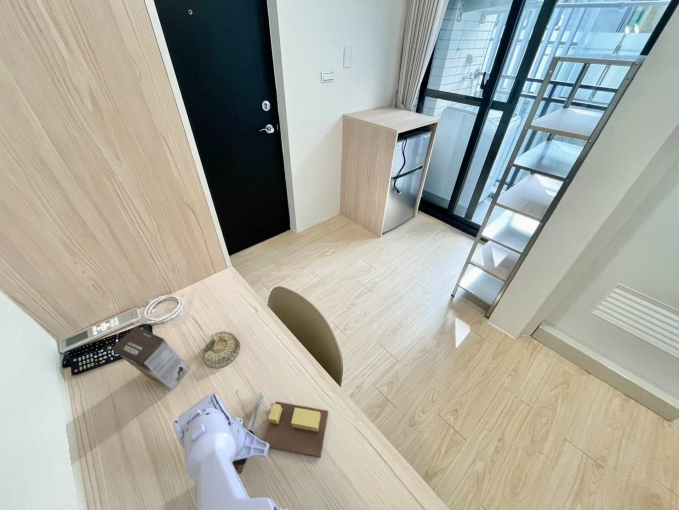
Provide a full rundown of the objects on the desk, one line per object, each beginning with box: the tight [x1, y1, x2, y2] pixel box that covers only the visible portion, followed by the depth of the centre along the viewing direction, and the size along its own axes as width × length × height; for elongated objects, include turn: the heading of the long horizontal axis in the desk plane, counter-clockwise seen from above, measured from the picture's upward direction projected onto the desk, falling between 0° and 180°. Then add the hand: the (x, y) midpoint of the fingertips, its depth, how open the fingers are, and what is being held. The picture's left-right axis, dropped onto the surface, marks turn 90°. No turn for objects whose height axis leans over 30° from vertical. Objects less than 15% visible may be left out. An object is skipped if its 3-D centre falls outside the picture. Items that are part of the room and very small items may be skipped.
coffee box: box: [111, 326, 191, 391], centre depth 66 cm, size 9×6×16 cm
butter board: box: [263, 401, 329, 458], centre depth 62 cm, size 9×13×1 cm
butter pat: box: [268, 403, 282, 424], centre depth 62 cm, size 3×2×3 cm, turn 171°
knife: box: [233, 392, 264, 475], centre depth 60 cm, size 15×2×3 cm, turn 171°
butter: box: [291, 408, 321, 432], centre depth 61 cm, size 3×6×3 cm, turn 81°
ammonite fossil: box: [202, 330, 241, 369], centre depth 74 cm, size 10×10×5 cm
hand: (241, 451), depth 57 cm, fingers closed on knife, 2 cm apart
